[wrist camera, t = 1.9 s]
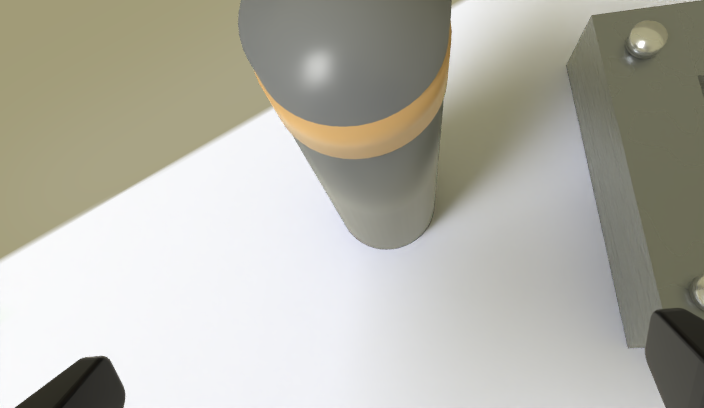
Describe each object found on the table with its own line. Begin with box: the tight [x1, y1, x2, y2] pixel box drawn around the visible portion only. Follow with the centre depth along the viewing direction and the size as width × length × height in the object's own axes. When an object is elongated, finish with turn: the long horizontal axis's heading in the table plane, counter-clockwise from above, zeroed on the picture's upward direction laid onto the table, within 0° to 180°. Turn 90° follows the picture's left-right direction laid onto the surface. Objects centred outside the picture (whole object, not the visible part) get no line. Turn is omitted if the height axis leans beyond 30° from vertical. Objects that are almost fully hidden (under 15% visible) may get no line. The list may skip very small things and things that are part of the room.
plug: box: [238, 0, 452, 249], centre depth 16 cm, size 4×4×13 cm
